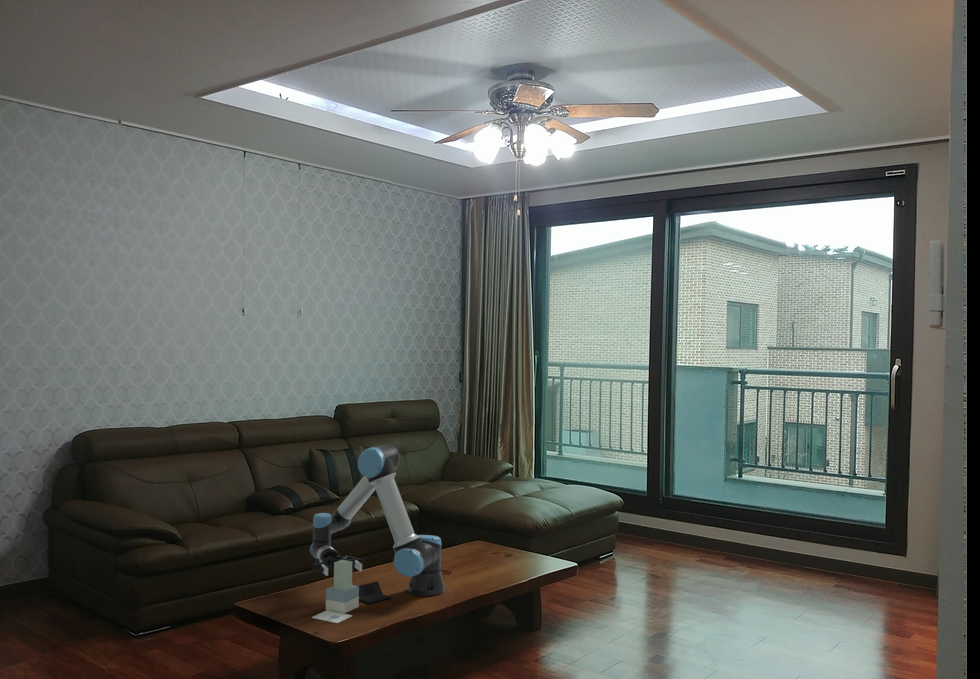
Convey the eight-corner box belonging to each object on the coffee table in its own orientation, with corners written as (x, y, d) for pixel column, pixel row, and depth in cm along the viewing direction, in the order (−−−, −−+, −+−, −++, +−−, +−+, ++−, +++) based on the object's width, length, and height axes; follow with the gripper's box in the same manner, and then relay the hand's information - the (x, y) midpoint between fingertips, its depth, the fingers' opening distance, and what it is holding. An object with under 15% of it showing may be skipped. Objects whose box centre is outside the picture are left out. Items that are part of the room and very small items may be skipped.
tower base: (358, 606, 305) (358, 586, 305) (344, 613, 297) (344, 592, 297) (340, 603, 309) (340, 582, 309) (325, 609, 301) (326, 588, 301)
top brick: (351, 587, 304) (352, 561, 304) (344, 590, 300) (344, 564, 300) (341, 585, 306) (342, 559, 306) (333, 588, 302) (334, 562, 302)
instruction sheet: (352, 616, 294) (352, 615, 294) (337, 623, 286) (337, 622, 286) (327, 611, 300) (327, 609, 300) (311, 617, 292) (311, 616, 292)
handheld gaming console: (373, 602, 307) (364, 578, 311) (361, 610, 309) (353, 587, 314) (393, 599, 316) (384, 576, 320) (381, 607, 318) (373, 584, 323)
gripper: (357, 562, 326) (374, 575, 308) (297, 569, 314) (312, 583, 296) (357, 544, 326) (375, 556, 308) (298, 551, 314) (312, 564, 296)
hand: (344, 570), depth 302 cm, fingers open, 13 cm apart
